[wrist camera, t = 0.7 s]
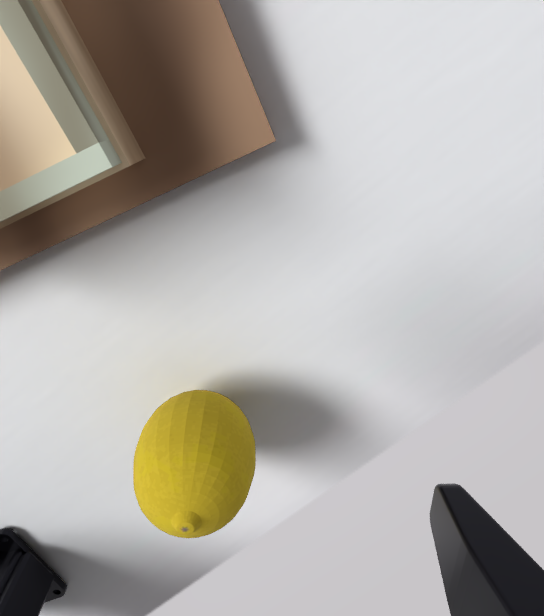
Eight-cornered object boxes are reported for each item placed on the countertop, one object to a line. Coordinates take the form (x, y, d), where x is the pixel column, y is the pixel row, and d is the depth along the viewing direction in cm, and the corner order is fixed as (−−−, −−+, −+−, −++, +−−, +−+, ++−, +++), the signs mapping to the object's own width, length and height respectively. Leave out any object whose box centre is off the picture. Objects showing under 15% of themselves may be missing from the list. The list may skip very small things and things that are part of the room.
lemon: (253, 360, 24) (255, 473, 16) (255, 443, 26) (257, 575, 18) (147, 362, 23) (101, 478, 16) (158, 446, 26) (121, 581, 18)
